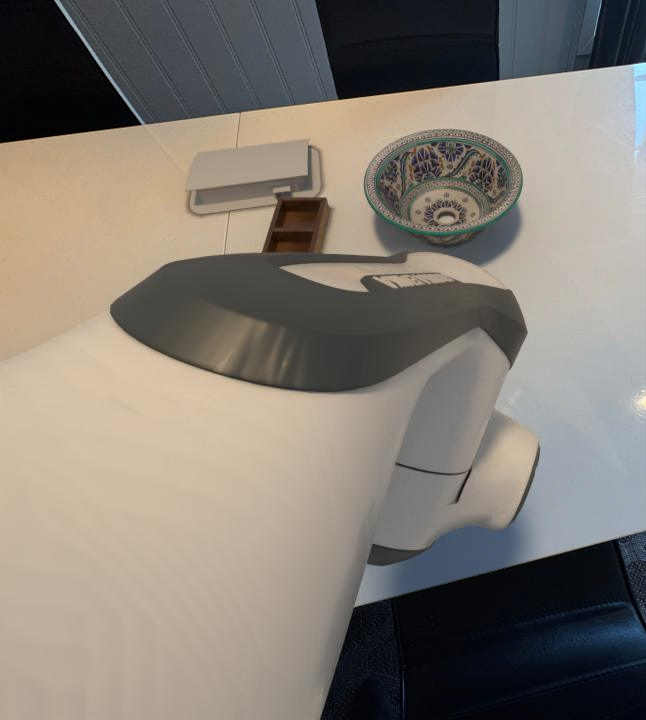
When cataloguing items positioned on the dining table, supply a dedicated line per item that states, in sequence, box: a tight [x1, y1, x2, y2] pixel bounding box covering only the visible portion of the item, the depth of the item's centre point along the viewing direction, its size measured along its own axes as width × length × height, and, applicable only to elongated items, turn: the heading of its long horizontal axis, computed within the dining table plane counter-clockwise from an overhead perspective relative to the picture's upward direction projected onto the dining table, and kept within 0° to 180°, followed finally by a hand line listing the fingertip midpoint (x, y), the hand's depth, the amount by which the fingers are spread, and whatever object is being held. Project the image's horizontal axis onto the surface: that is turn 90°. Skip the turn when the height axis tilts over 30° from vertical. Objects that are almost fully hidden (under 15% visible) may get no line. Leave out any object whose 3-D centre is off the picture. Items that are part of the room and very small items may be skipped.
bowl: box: [363, 128, 524, 246], centre depth 83 cm, size 25×25×10 cm
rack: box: [261, 196, 331, 253], centre depth 78 cm, size 8×38×3 cm, turn 0°
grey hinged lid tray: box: [184, 138, 322, 215], centre depth 92 cm, size 15×23×4 cm, turn 102°
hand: (214, 341), depth 44 cm, fingers open, 8 cm apart
